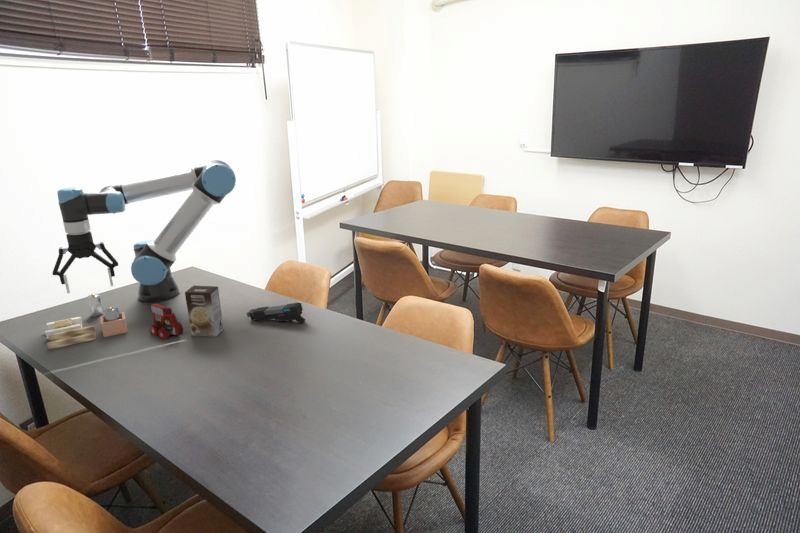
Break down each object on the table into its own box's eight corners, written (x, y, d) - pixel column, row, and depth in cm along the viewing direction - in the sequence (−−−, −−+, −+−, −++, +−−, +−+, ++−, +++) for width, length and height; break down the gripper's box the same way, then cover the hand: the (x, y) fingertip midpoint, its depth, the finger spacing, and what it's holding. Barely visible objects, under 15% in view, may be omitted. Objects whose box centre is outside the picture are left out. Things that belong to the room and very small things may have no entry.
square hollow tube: (127, 325, 173) (123, 311, 171) (128, 333, 167) (125, 318, 165) (103, 330, 169) (100, 316, 168) (104, 338, 163) (100, 323, 162)
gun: (303, 325, 171) (292, 299, 168) (256, 338, 176) (245, 313, 174) (308, 319, 175) (297, 295, 172) (262, 332, 180) (251, 308, 178)
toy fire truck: (169, 343, 160) (163, 314, 157) (147, 334, 166) (142, 306, 163) (187, 335, 165) (183, 306, 162) (166, 326, 172) (161, 299, 168)
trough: (95, 332, 168) (94, 325, 167) (96, 340, 162) (94, 333, 161) (50, 341, 162) (48, 334, 161) (49, 351, 156) (47, 343, 155)
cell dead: (121, 327, 171) (116, 304, 168) (122, 331, 167) (117, 308, 165) (108, 329, 169) (103, 307, 166) (109, 334, 165) (103, 311, 163)
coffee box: (190, 336, 164) (183, 292, 159) (199, 328, 170) (192, 285, 165) (216, 337, 163) (209, 292, 158) (224, 328, 169) (218, 285, 164)
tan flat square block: (72, 321, 171) (71, 318, 171) (71, 326, 167) (71, 323, 167) (55, 324, 169) (55, 321, 168) (55, 330, 165) (54, 326, 165)
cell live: (104, 312, 185) (99, 291, 182) (104, 316, 181) (99, 294, 179) (92, 315, 183) (86, 293, 180) (92, 318, 179) (86, 297, 177)
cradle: (82, 324, 175) (80, 316, 174) (82, 333, 168) (80, 325, 167) (48, 330, 170) (46, 323, 169) (47, 340, 163) (45, 332, 162)
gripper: (118, 225, 181) (128, 279, 188) (36, 234, 169) (50, 291, 175) (119, 229, 175) (129, 285, 181) (34, 239, 162) (49, 298, 169)
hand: (90, 288), depth 178 cm, fingers open, 13 cm apart
